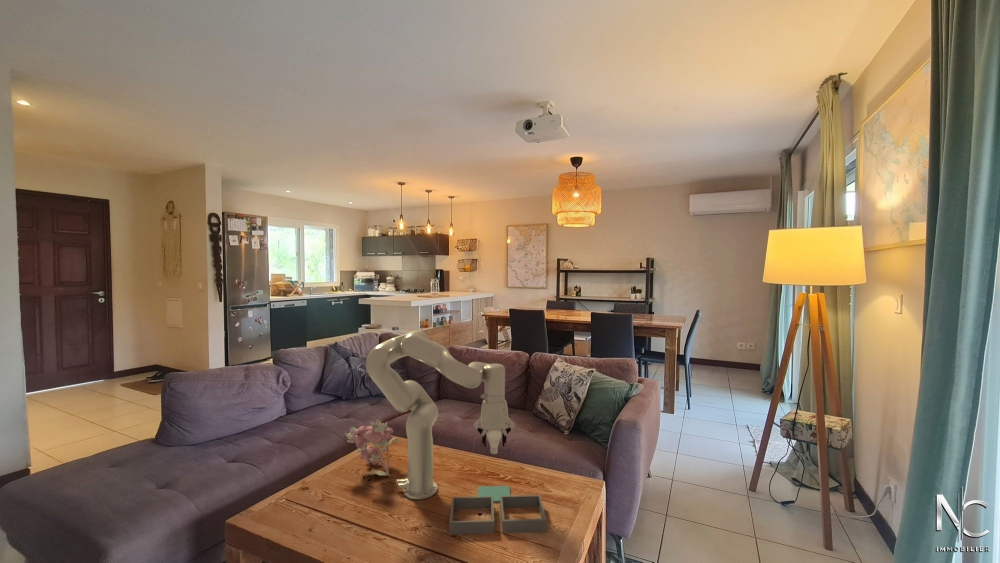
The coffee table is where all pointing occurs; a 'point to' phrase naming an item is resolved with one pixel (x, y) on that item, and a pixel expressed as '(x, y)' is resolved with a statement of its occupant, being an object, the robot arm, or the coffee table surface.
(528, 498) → the box
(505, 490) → the mat
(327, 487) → the coffee table surface
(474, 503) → the box
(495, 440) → the lightbulb
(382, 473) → the flower
